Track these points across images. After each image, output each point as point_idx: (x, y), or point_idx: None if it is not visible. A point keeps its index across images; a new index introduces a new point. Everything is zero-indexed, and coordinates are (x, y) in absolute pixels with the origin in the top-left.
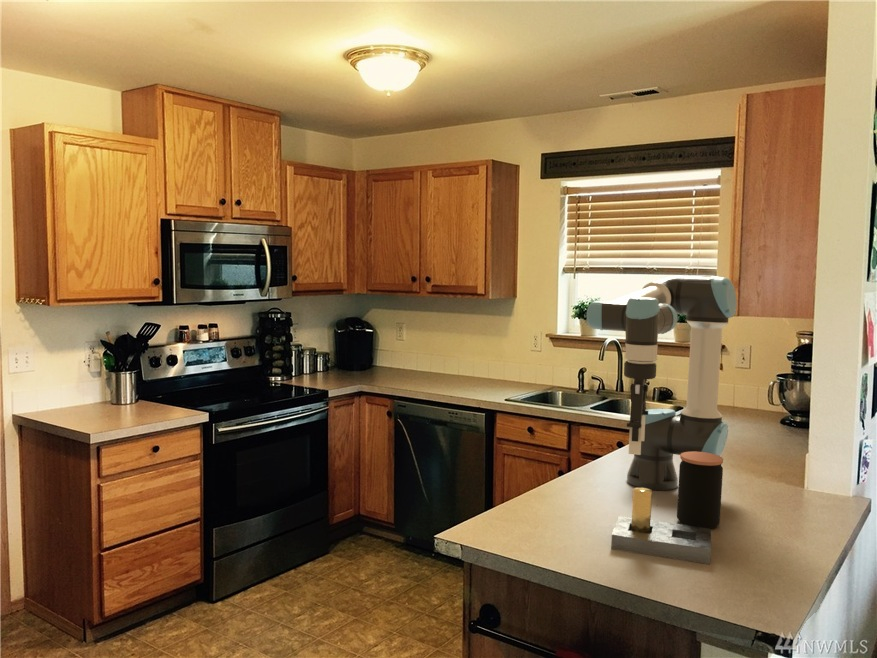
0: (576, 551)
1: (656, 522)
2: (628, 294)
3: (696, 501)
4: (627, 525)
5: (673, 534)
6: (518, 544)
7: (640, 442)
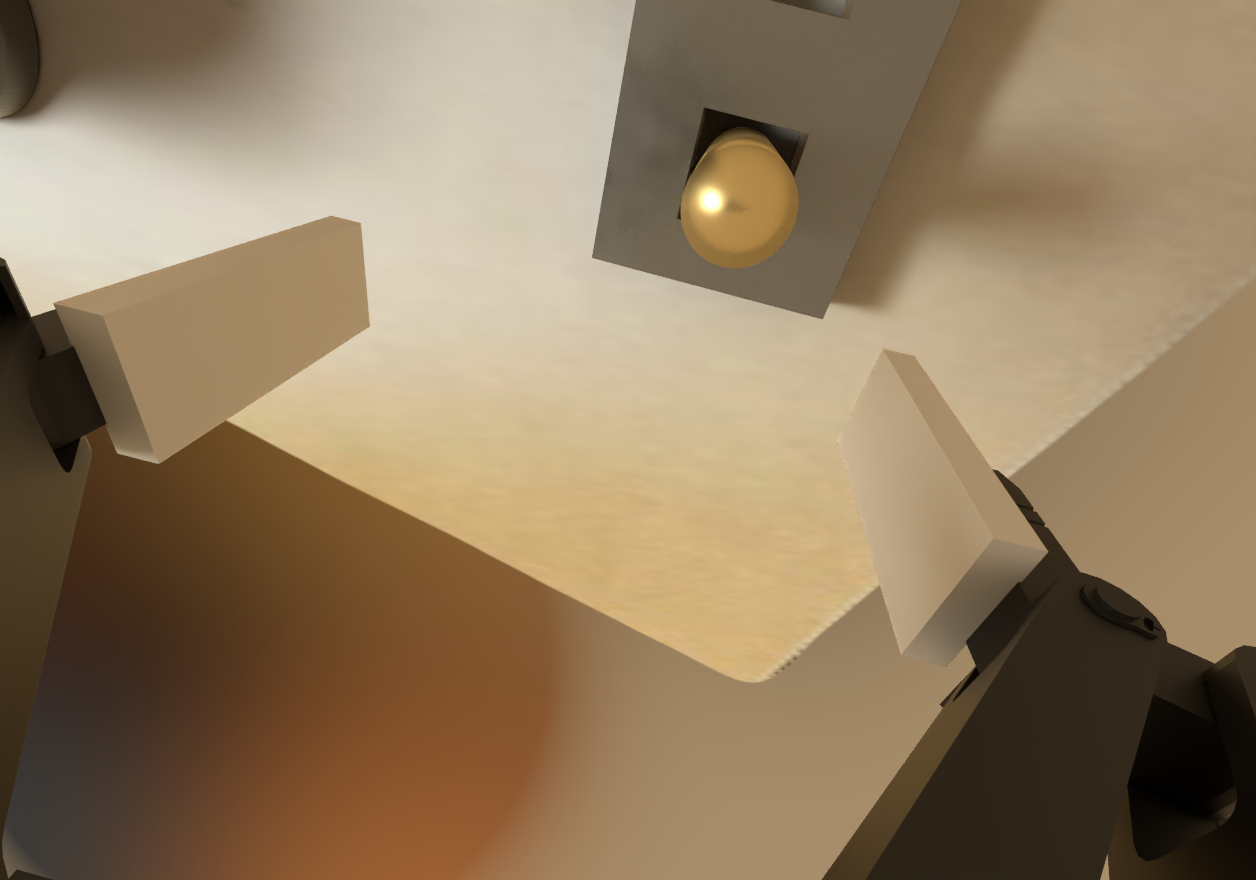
0: (840, 416)
1: (644, 76)
2: None
3: None
4: None
5: None
6: (789, 553)
7: (957, 425)
